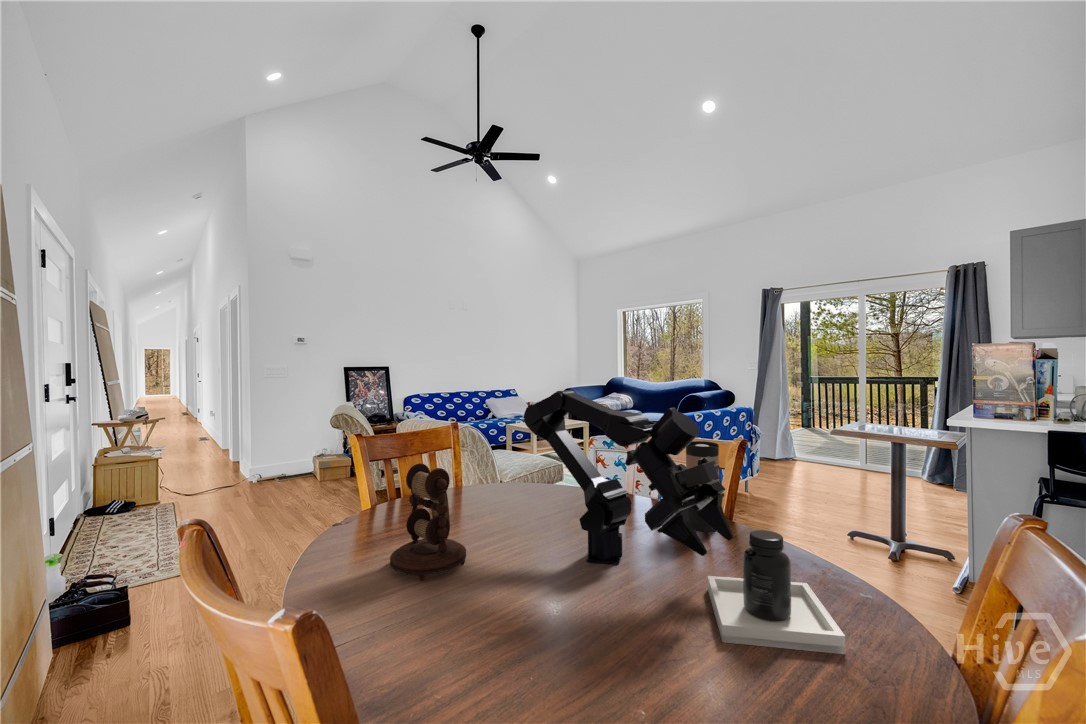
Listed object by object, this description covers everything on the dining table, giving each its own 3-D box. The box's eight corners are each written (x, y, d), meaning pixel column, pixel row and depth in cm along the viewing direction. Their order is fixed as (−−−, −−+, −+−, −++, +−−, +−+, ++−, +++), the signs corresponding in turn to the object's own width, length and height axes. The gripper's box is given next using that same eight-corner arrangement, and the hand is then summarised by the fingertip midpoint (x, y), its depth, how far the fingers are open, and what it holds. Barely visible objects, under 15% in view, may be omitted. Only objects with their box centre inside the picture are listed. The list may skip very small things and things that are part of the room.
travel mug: (681, 522, 121) (680, 441, 121) (711, 520, 122) (710, 440, 121) (693, 533, 113) (692, 447, 113) (725, 531, 114) (724, 446, 114)
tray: (722, 642, 70) (722, 624, 70) (707, 589, 86) (707, 575, 86) (845, 654, 67) (845, 636, 67) (806, 597, 82) (806, 583, 82)
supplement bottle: (801, 617, 74) (801, 539, 74) (766, 626, 72) (766, 545, 72) (766, 597, 81) (766, 525, 81) (733, 604, 78) (733, 530, 78)
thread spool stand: (481, 564, 98) (479, 464, 97) (417, 590, 87) (415, 478, 87) (438, 545, 108) (436, 455, 108) (376, 567, 97) (374, 467, 97)
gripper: (659, 450, 79) (725, 536, 71) (714, 437, 92) (775, 508, 84) (620, 490, 85) (677, 572, 77) (678, 471, 98) (731, 541, 90)
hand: (718, 546), depth 82 cm, fingers open, 9 cm apart
